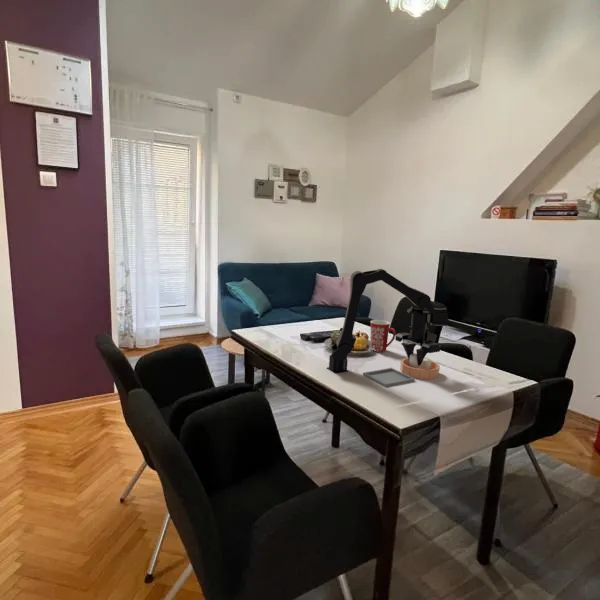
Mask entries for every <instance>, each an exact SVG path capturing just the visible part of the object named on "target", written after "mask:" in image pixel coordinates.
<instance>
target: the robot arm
mask: <svg viewBox="0 0 600 600" xmlns="http://www.w3.org/2000/svg"><path fill="white" fill-rule="evenodd" d="M379 281H380V282H381V281H382V282H384V283H385V284H387V285H388V286H389V287H392V288H393V289H394V290H396V291H397V292H399V293H401V294H402V295H404V297H405V298H407V300H409V301H410V302H411V303H412V304H413V305H415V306H416V307H418V308H414V306H410V307H409V308H408V309H407V310H406V312H407V313H408V314H411V321H410V324H411V325H410V326H408V330H410V333H408V332H398V333H396V336H395V339H394V340H395V341H396V342H399V343H400V345H401V346H402V347H403V350H404V351H405V354H406V357H407V358H408V359H410V354H412V353H415V351H416V354H417V363H418V365H421V363H422V361H423V359H424V358H425V357H427V354H432V353H433V354H434V353H438V352H441V345H440V343H436V339H437V337H438V334H435V333H433V332H430V328H429V327H427V325H428V324H427V323H429V325H430V326H438V327H447V326H448V324H449V320H450V319H449V314H448V309H447V308H445V307H442V308H437V307H434V306H433V304H432V303H431V302H432V300H431V297H430V295H429V294H427V293H425V292H423V291H421V290H419V289H416V288H413V287H410V286H409V285H407V284H405V283H404V282H402V281H401V280H399V279H398V278H397V277H395V276H393V275H391V274H390V273H388V272H387V270H385V269H383V268H378V269H373V270H366V271H360V270H356V271H354V272H352V273H351V275H350V282H349V283H350V285H349V288H350V293H349V298H348V303H347V308H346V313H345V317H344V320H343V326H342V328H341V331H340V332H339V334H338V337H337V338H336V342H335V343H334V344H333V345H332V346H330V351H331V354H329V357H328V358H329V360H328V361H329V362H328V367H326V369H327V370H328V371H330V372H331V373H333V374H341V373H346V372H347V373H348V372H349V370H348V362H349V361H348V355H349V354H351V352H352V350H354V349H355V343H356V341H357V337H356V335H355V334H354V327H355V322H356V319H357V315H358V309H359V304H360V301H361V297H362V295H363V293H364V292H365V290H366V287H367V285H369V284H374V283H376V282H379ZM429 341H430V342H429ZM416 346H419V348H417V349H416V350H415V347H416Z"/></svg>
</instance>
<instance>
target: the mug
mask: <svg viewBox="0 0 600 600" xmlns="http://www.w3.org/2000/svg"><path fill="white" fill-rule="evenodd" d="M369 323H370V338H369V339H370V344H369V345H370V346H371V347H372V348H374V349H375V350H376V352H375V353H385V352H386V351H387V348H388V347H389V346H390V345H391V344H392V343H393V341H394V340H395V338H396V335H397V332H396V330H395V328H393V327H390V324H391V322H390V321H387V320H382V319H381V320H380V319H374V320H370V322H369ZM390 331H391V332H392V338H391V340H390V341H389V342H388V339H389V338H388V337H389V332H390Z"/></svg>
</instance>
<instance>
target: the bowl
mask: <svg viewBox="0 0 600 600" xmlns="http://www.w3.org/2000/svg"><path fill="white" fill-rule="evenodd" d="M399 368H400V369H399V371H400V372H402V373H404V374H406V375H408V376H410V377H412V378H414V379H419V380H432V379H437V378H438V377H439V376H440V365H439V363H438V362H435V361H432V360H431V368H430V370H426V369H419V368H414V367H410V366H409V359H408V357H407V358H403V359H402V360H401V361H400V367H399Z"/></svg>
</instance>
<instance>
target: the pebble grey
mask: <svg viewBox="0 0 600 600" xmlns="http://www.w3.org/2000/svg"><path fill="white" fill-rule="evenodd" d="M409 366H410V367H414V368H419V367H420V366H421V365H418V363H417V352H416V353H415V352H414V353H412V354H410V359H409Z"/></svg>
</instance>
